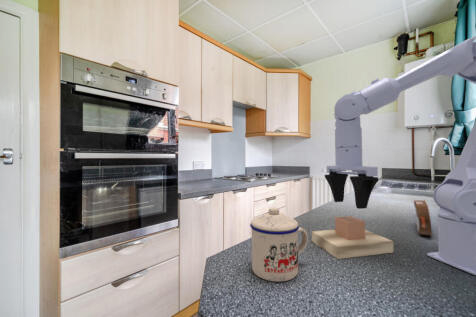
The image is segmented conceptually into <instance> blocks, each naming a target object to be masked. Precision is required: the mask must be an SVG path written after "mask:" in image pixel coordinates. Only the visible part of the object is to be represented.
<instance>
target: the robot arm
mask: <svg viewBox="0 0 476 317" xmlns="http://www.w3.org/2000/svg"><path fill="white" fill-rule="evenodd" d="M475 40H476V35H474V36H473V37H471V38H468V39H466V40H464V41H462V42H460V43H458V44H456V45H454V46H453V47H451V48H449V49H447V50H444V51H442V52H441V53H439V54H438V55H437V54H436V56H434V57H432V58H430V59H428V60H427V61H425V62H423V63H421V64H419V65H417V66H416V67H414V68H411V70H408V71H406V72H404V73H403V74H400V75H399V76H397V77H395V78H392V77H391V78H389V77H384V78H381V79H379V78H375V79H374V80H372V81H371V83H370V84H369V85H368V86H366V87H364V88H362V89H360V90H358V91H354V90H353V91H352V92H350V93H347V94H344V95H343V96H342V97H340V98H339V99H337V101H336V103H335V105H334V109H333V110H334V113H333V116H334V120H335V122H334V126H335V129H334V150H335V152H334V154H335V155H334V156H335V165H326V174H324V178H325V180H326V181H327V183H328V185H329V187H330V190H331V193H332V197H333V201H334V202H335V203H341V202H344V199H345V198H344V197H345V188H346V182H347V179H348V177H349V179H350V182H351V185H352V187H353V192H354V202H355V207H356V209H358V210H359V209H367V208H368V205H369V200H370V198H371V194H372V192H373V191H374V188H375V186H376V185H377V184H378V182H379V177H378V176H379V175H378V170H379V169H378V166H365V165H364V166H363V136H362V134H363V133H362V132H363V130H362V126H361V115H368V114H370V113H373V112H375V111H378V110H379V109H381V108H383V107H385V106H387V105H389V104H392V103H394V102H396V101H397V100H398V98H399V95H400V94H401V92H404V91H406V90H408V89H409V90H410V88H413V87H415V86H418V85H420V84H422V83H424V82H426V81H429V80H431V79H433V78H436V77H438V76H439V75H441V76H445V77H449V78H453V77H454V76H456V75H457V76H458V77H460V78H462V79H463V80H466V81H468V82H470V83H472V84H474V85H476V41H475ZM349 175H351V176H349ZM432 198H433V201H434V203H435V204H436V205H437V206H438V207H439V210H438V211H437V236H438V237H437V239H438V240H437V242H438V243H437V244H438V245H437V246H438V251H435V252H434V251H433V252H427V253H426V255H427V257H430V258H432V259H434V260H437V261H439V262H442V263H444V264H447V265H449V266H452V267H454V268H457V269H459V270H462V271H464V272H466V273H469V274H472V275H474V276H476V120H475V121H474V123H473V126H472V128H471V130H470V132H469V134H468V137H467V140H466V142H465V144H464V147H463V149H462V152H461V154H460V156H459V158H458V161H457V163H456V166H455V167H454V168H453V169H452V170H450V171H449V172H448V173H447V174H446V175H445V178H444V180H443V181H442V182H441V183H440V184H438V185H437V186H436V187H435V189H434V190H433V192H432Z"/></svg>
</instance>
